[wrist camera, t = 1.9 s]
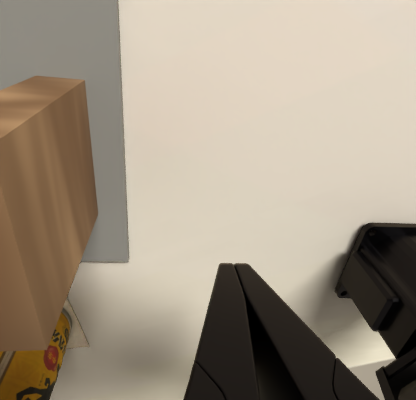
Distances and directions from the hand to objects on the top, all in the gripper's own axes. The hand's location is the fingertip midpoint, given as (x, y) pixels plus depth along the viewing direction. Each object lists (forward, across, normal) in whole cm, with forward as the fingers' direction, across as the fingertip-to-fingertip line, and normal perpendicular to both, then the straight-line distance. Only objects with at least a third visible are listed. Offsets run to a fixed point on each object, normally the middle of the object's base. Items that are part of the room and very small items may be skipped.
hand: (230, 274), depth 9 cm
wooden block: (+8, +7, 0) cm, 10 cm away
